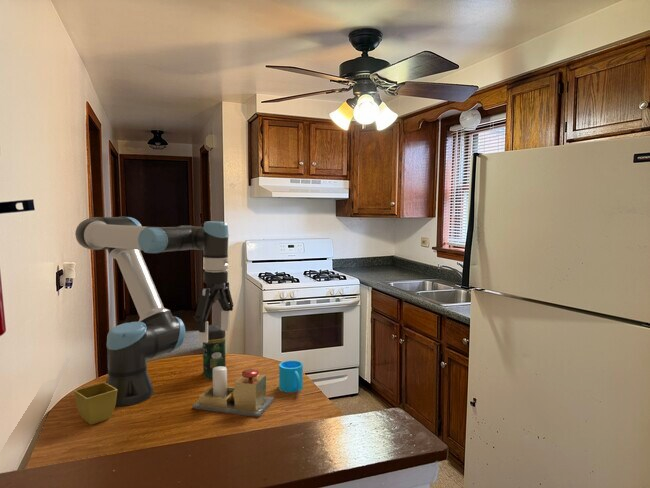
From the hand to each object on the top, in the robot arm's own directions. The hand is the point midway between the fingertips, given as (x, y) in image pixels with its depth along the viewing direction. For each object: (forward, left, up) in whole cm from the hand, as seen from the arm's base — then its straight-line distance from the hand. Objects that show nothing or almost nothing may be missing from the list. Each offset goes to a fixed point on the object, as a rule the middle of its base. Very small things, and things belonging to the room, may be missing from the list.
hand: (214, 335), depth 141 cm
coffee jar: (-10, +18, -21) cm, 30 cm away
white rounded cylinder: (+3, -2, -20) cm, 20 cm away
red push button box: (+8, -2, -21) cm, 22 cm away
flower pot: (-26, -22, -21) cm, 40 cm away
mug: (+22, +14, -21) cm, 33 cm away
